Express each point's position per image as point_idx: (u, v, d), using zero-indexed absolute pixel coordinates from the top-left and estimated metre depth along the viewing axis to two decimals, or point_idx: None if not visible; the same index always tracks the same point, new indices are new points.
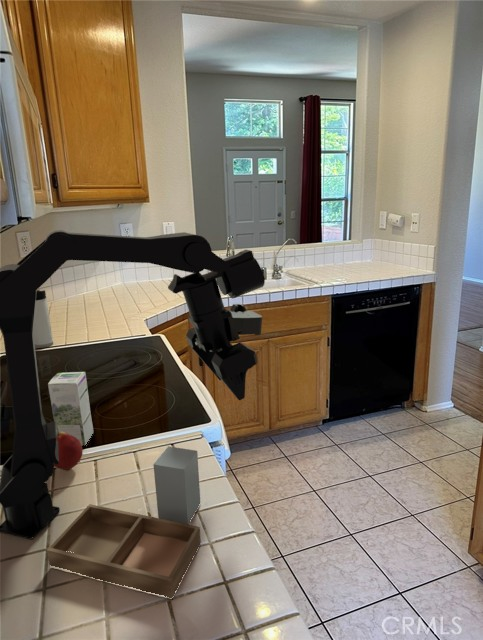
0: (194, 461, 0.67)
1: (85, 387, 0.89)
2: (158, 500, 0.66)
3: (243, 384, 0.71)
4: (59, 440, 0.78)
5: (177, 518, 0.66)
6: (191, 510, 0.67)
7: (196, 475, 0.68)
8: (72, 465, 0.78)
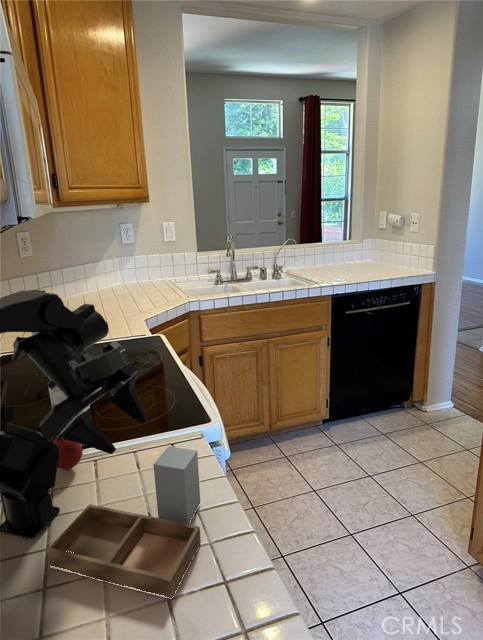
0: (194, 461, 0.67)
1: None
2: (158, 500, 0.66)
3: (99, 437, 0.62)
4: None
5: (177, 518, 0.66)
6: (191, 510, 0.67)
7: (196, 475, 0.68)
8: (72, 465, 0.78)
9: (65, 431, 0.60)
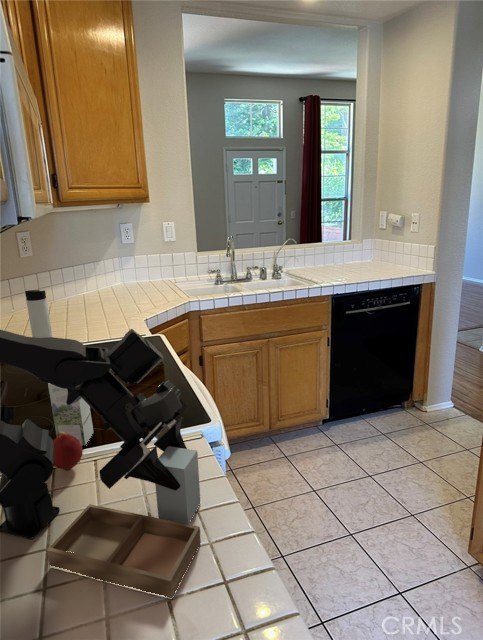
0: (194, 461, 0.67)
1: None
2: (158, 500, 0.66)
3: (165, 475, 0.63)
4: (59, 440, 0.78)
5: (177, 518, 0.66)
6: (191, 510, 0.67)
7: (196, 475, 0.68)
8: (72, 465, 0.78)
9: (133, 470, 0.61)
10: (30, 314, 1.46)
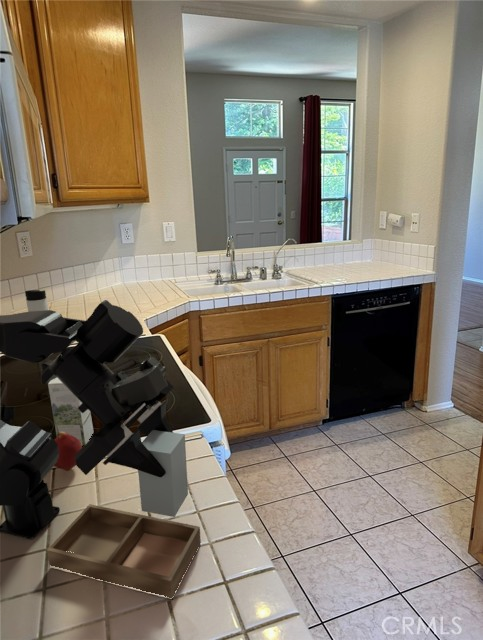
0: (181, 445, 0.61)
1: None
2: (142, 489, 0.60)
3: (149, 460, 0.57)
4: (59, 440, 0.78)
5: (163, 508, 0.60)
6: (178, 499, 0.61)
7: (183, 461, 0.62)
8: (72, 465, 0.78)
9: (113, 454, 0.55)
10: None
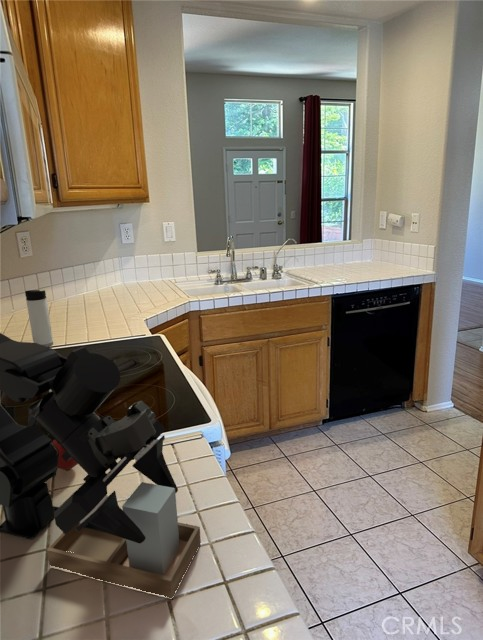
0: (171, 501, 0.57)
1: None
2: (129, 547, 0.57)
3: (126, 525, 0.51)
4: None
5: (151, 568, 0.56)
6: (167, 558, 0.57)
7: (174, 516, 0.58)
8: (72, 465, 0.78)
9: (85, 521, 0.50)
10: (30, 314, 1.46)
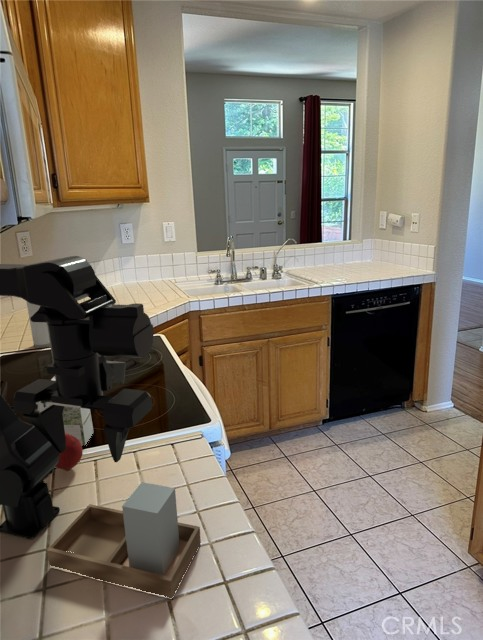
0: (171, 501, 0.57)
1: None
2: (129, 547, 0.57)
3: (124, 440, 0.60)
4: None
5: (151, 568, 0.56)
6: (167, 558, 0.57)
7: (174, 516, 0.58)
8: (72, 465, 0.78)
9: None
10: (30, 314, 1.46)
